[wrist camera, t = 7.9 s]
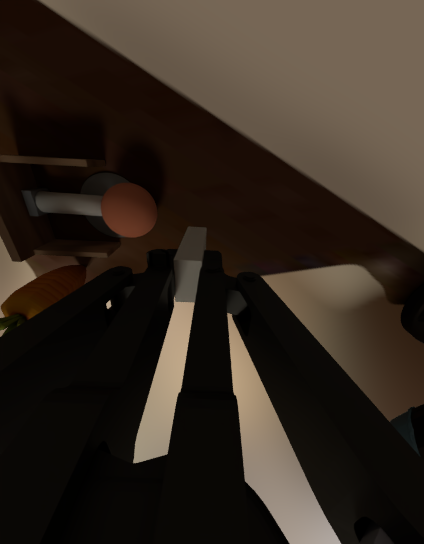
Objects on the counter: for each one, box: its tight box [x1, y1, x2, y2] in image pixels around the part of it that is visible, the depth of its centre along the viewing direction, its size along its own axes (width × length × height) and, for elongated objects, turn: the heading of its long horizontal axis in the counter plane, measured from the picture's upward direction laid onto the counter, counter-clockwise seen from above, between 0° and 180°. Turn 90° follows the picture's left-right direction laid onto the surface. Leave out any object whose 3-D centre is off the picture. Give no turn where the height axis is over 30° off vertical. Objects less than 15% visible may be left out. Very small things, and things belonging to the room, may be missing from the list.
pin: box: [21, 187, 103, 216], centre depth 24 cm, size 3×3×8 cm
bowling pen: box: [0, 155, 120, 262], centre depth 23 cm, size 10×11×6 cm
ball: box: [101, 183, 157, 237], centre depth 23 cm, size 6×6×6 cm
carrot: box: [0, 265, 86, 336], centre depth 23 cm, size 5×5×15 cm
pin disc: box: [80, 173, 130, 237], centre depth 26 cm, size 8×8×1 cm
